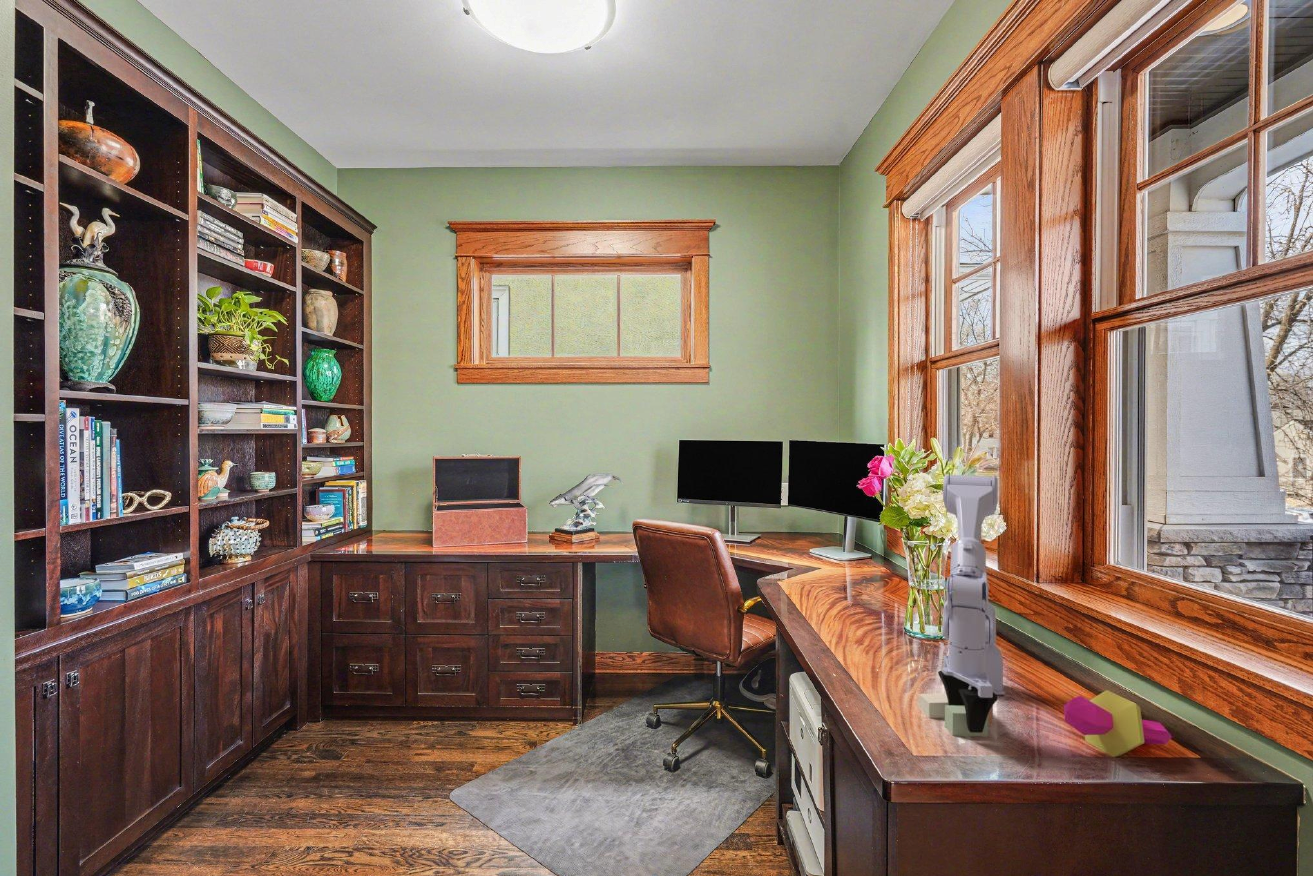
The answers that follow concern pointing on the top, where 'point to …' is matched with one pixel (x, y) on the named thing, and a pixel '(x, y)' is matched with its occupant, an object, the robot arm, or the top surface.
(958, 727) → the green brick
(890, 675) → the top surface
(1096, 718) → the toy
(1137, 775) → the top surface
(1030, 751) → the top surface
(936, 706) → the cream brick
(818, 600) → the top surface
